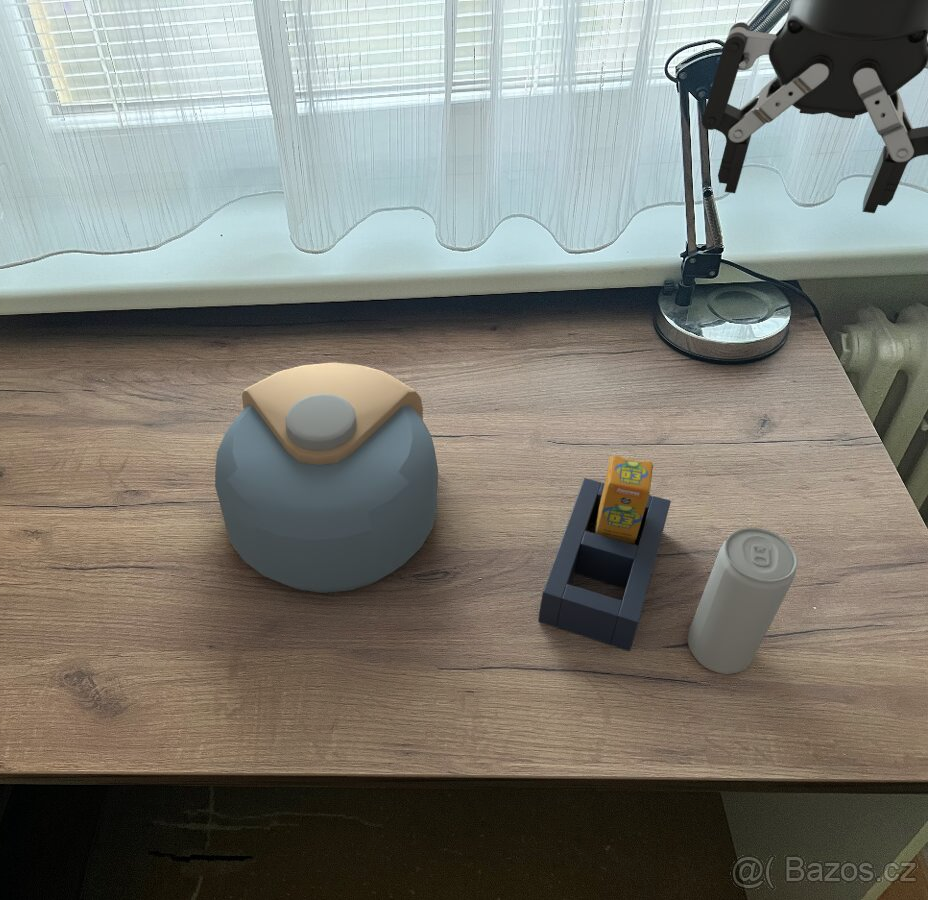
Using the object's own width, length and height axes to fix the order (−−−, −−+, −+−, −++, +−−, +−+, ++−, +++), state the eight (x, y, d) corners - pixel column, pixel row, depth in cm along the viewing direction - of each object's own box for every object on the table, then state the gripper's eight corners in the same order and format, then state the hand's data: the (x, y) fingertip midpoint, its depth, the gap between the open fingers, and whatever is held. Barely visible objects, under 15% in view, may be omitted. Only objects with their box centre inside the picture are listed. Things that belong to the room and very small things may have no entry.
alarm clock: (438, 435, 86) (439, 338, 77) (435, 607, 72) (436, 511, 63) (247, 433, 88) (227, 338, 80) (208, 598, 74) (180, 505, 66)
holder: (662, 530, 75) (671, 500, 73) (629, 651, 68) (638, 622, 65) (578, 507, 78) (584, 477, 75) (537, 621, 70) (542, 592, 67)
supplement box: (588, 561, 74) (605, 481, 67) (593, 531, 76) (610, 450, 69) (629, 569, 73) (651, 489, 66) (633, 538, 75) (654, 457, 68)
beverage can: (751, 629, 68) (797, 532, 59) (753, 684, 65) (803, 589, 56) (685, 617, 69) (721, 520, 61) (685, 670, 66) (722, 575, 57)
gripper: (739, -57, 48) (679, 208, 59) (1048, -43, 43) (917, 244, 54) (756, -96, 53) (697, 157, 64) (1037, -87, 48) (919, 186, 59)
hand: (798, 197), depth 59 cm, fingers open, 8 cm apart
